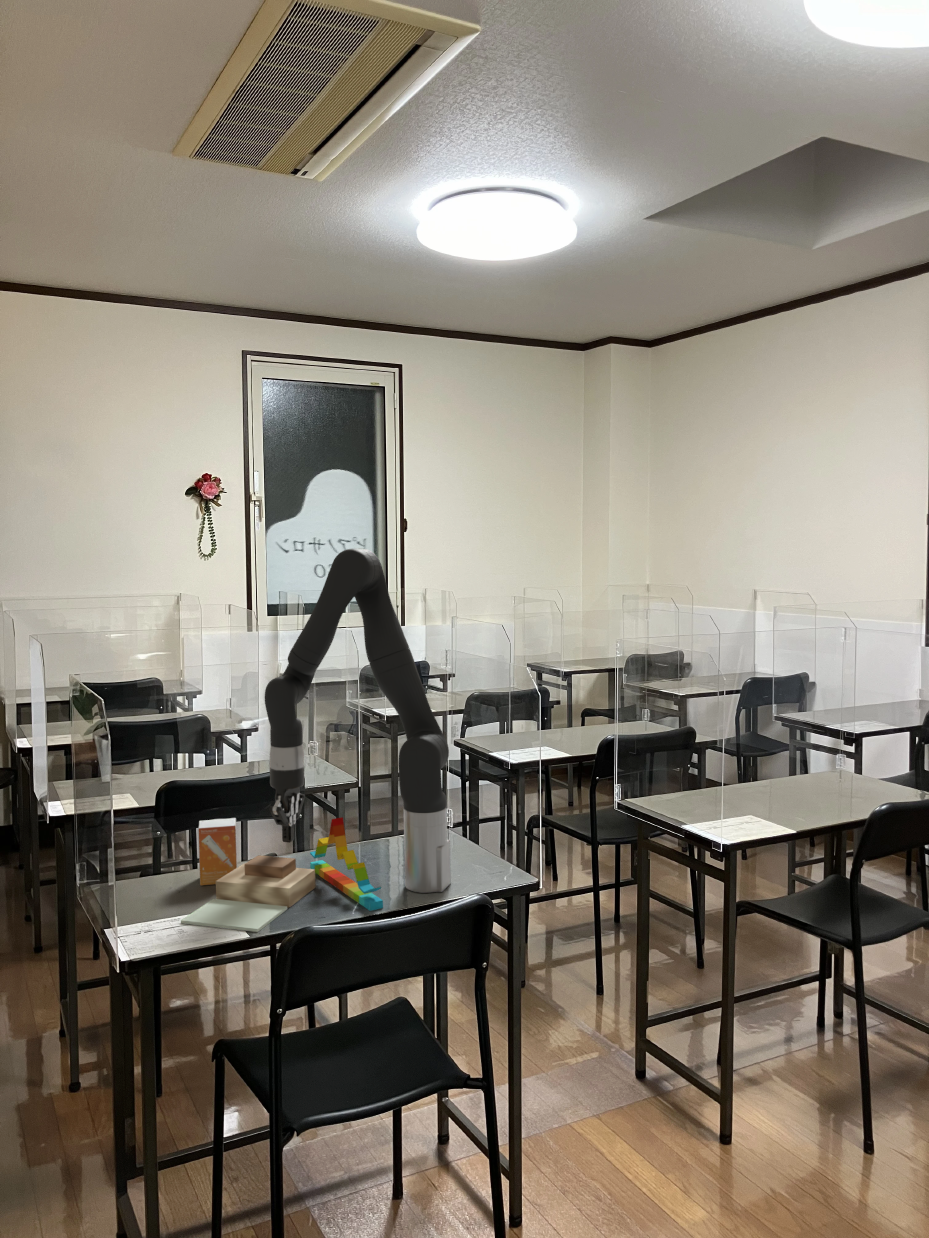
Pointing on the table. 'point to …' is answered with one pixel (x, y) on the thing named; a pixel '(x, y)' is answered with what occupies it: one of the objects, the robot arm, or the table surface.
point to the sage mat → (234, 915)
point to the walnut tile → (270, 866)
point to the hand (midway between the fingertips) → (288, 841)
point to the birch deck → (265, 887)
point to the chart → (339, 880)
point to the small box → (217, 849)
